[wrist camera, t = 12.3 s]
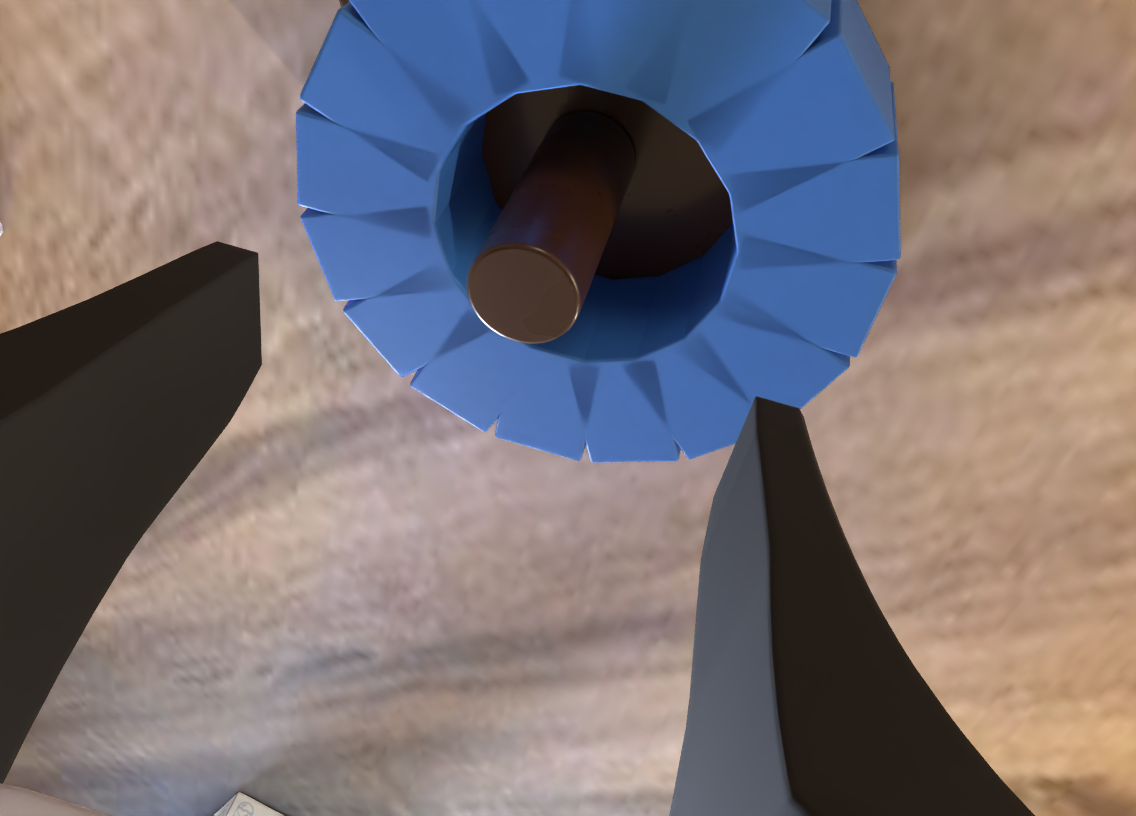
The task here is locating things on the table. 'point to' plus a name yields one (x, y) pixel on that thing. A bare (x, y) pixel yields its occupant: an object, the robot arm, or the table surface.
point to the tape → (612, 307)
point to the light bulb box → (245, 807)
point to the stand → (585, 205)
